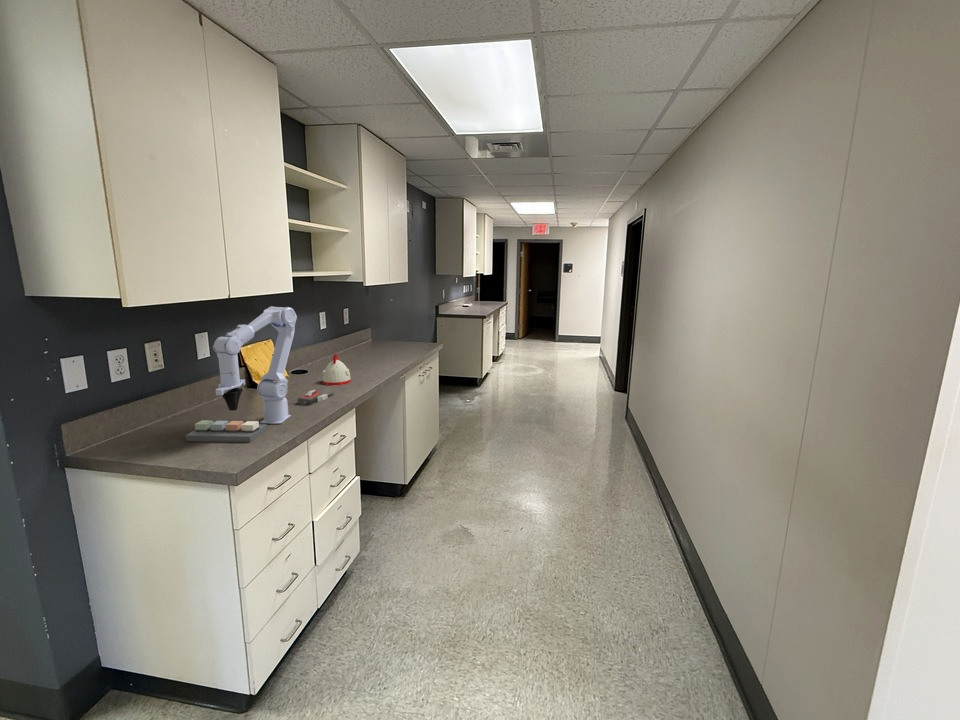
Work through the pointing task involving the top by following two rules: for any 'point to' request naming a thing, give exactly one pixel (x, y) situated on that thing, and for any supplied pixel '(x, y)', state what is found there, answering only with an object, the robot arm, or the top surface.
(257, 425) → the key ivory
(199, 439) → the grey slotted tray
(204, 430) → the key sage
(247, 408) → the top surface
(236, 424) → the key terracotta
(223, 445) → the top surface
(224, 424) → the key slate
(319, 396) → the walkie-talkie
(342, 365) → the kitchen timer
